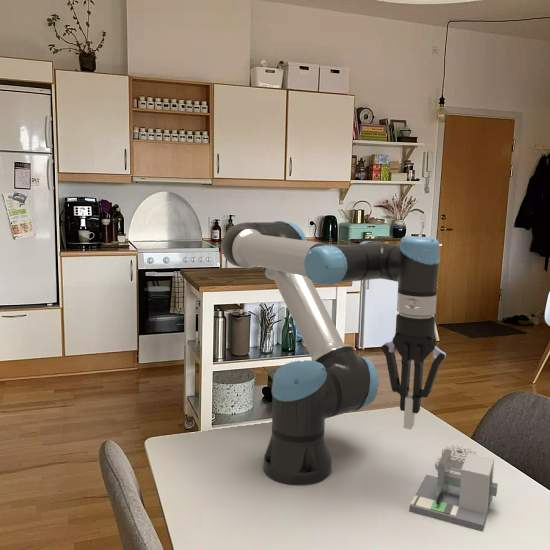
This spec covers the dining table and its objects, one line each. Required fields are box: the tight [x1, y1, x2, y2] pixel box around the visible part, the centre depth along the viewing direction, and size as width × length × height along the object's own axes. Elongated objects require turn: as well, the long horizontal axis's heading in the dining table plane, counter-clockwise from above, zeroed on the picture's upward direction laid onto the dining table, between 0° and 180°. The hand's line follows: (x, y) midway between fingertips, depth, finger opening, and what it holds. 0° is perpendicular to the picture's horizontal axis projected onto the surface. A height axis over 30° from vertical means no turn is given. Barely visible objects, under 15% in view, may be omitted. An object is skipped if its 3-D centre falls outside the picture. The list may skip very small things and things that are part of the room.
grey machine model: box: [436, 449, 499, 505], centre depth 109 cm, size 11×10×7 cm
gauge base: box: [409, 453, 495, 532], centre depth 111 cm, size 14×14×9 cm
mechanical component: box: [435, 444, 478, 475], centre depth 126 cm, size 10×4×10 cm
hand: (408, 426), depth 116 cm, fingers closed
